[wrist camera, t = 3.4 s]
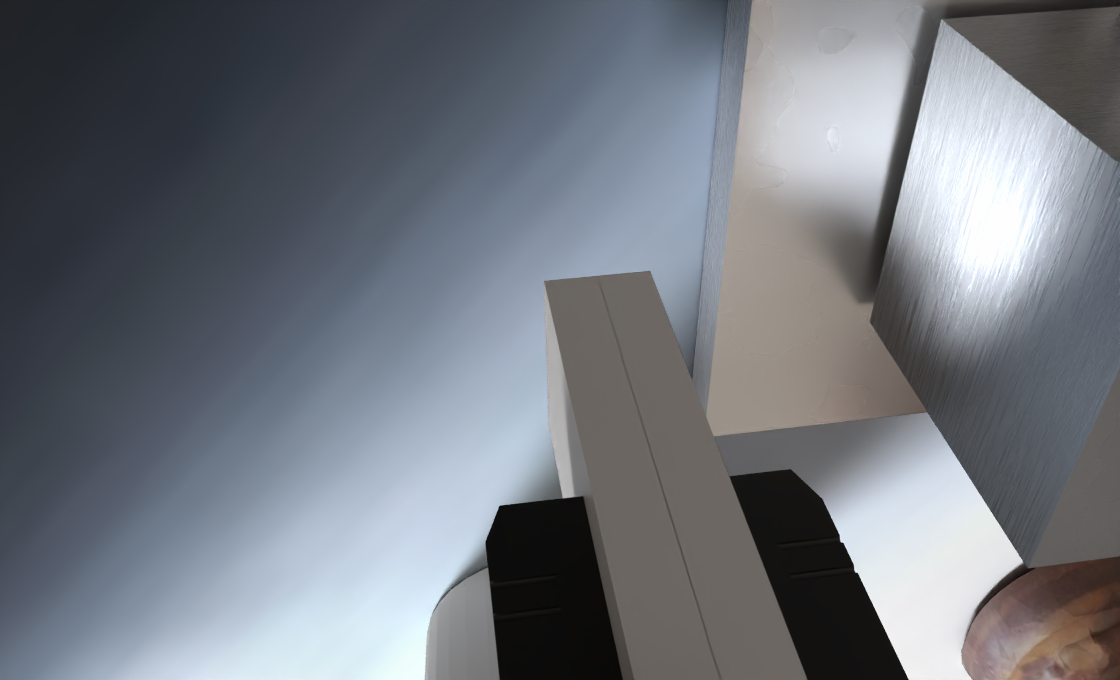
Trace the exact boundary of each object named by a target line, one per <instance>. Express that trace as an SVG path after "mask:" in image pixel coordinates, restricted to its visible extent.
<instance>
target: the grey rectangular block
mask: <svg viewBox="0 0 1120 680" xmlns="http://www.w3.org/2000/svg"><path fill="white" fill-rule="evenodd" d="M870 323H871V325H872V326H873V328H874V330H875V331H876V333H877V334H878V336H879V337H880V339H881V340H882V342H883V344H884V345H885V347H886V348H887V350H888V351H889V353H890V355H891V356H892V358H893V359H894V361H895V362H896V364H897V365H898V367H899V369H900V370H901V372H902V373H903V375H904V376H905V378H906V379H907V381H908V383H909V384H910V386H911V387H912V389H913V390H914V392H915V393H916V395H917V397H918V398H919V400H920V401H921V403H922V404H923V406H924V408H925V409H926V411H927V412H928V414H929V415H930V417H931V418H932V420H933V422H934V423H935V425H936V426H937V428H938V429H939V431H940V432H941V434H942V436H943V437H944V439H945V440H946V442H947V443H948V445H949V447H950V448H951V450H952V451H953V453H954V454H955V456H956V457H957V459H958V461H959V462H960V464H961V465H962V467H963V468H964V470H965V471H966V473H967V475H968V476H969V478H970V479H971V481H972V482H973V484H974V485H975V487H976V489H977V490H978V492H979V493H980V495H981V496H982V498H983V500H984V501H985V503H986V504H987V506H988V507H989V509H990V510H991V512H992V514H993V515H994V517H995V518H996V520H997V521H998V523H999V524H1000V526H1001V528H1002V529H1003V531H1004V532H1005V534H1006V535H1007V537H1008V538H1009V540H1010V542H1011V543H1012V545H1013V546H1014V548H1015V549H1016V551H1017V553H1018V554H1019V556H1020V557H1021V559H1022V560H1023V562H1024V563H1025V565H1026V567H1027V568H1034V567H1042V566H1050V565H1057V564H1065V563H1072V562H1080V561H1087V560H1095V559H1103V558H1110V557H1118V556H1120V7H1106V8H1092V9H1078V10H1063V11H1049V12H1035V13H1021V14H1007V15H992V16H978V17H964V18H950V19H941V22H940V27H939V31H938V35H937V39H936V43H935V48H934V52H933V56H932V60H931V65H930V69H929V73H928V77H927V81H926V86H925V90H924V94H923V98H922V103H921V107H920V111H919V115H918V119H917V124H916V128H915V132H914V136H913V141H912V145H911V149H910V153H909V157H908V162H907V166H906V170H905V174H904V178H903V183H902V187H901V191H900V195H899V200H898V204H897V208H896V212H895V216H894V221H893V225H892V229H891V233H890V238H889V242H888V246H887V250H886V254H885V259H884V263H883V267H882V271H881V276H880V280H879V284H878V288H877V292H876V297H875V301H874V305H873V309H872V314H871V318H870Z"/></svg>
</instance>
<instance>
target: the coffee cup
mask: <svg viewBox="0 0 1120 680" xmlns="http://www.w3.org/2000/svg"><path fill="white" fill-rule="evenodd" d="M425 680H499V672H498V662H497V652H496V642H495V633H494V623H493V613H492V603H491V593H490V583H489V573H488V568H485V569H483V570H481V571H479V572H477V573H475V574H473V575H472V576H470V577H468V578H466V579H465V580H463V581H462V582H461V583H459V584H458V585H457V586H455V587H454V588H453V589H451V590H450V591H449V592H448V594H447V595H446V596H445V597H444V598H443V599H442V600H441V601H440V602H439V604H438V606H437V607H436V609H435V611H434V613H433V614H432V616H431V619H430V623H429V627H428V633H427V646H426V666H425Z"/></svg>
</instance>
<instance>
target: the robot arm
mask: <svg viewBox="0 0 1120 680" xmlns="http://www.w3.org/2000/svg"><path fill="white" fill-rule="evenodd" d="M544 297H545V327H546V357H547V387H548V417H549V429H550V434H551V439H552V444H553V450H554V455H555V460H556V465H557V470H558V475H559V481H560V486H561V491H562V496H563V498H562V499H553V500H545V501H536V502H528V503H519V504H511V505H502V506H499V509H498V511H497V514H496V516H495V519H494V522H493V524H492V527H491V529H490V532H489V534H488V537H487V540H486V552H487V563H488V573H489V583H490V593H491V603H492V613H493V623H494V633H495V642H496V652H497V662H498V672H499V680H908V678H907V675H906V673H905V671H904V669H903V667H902V665H901V663H900V661H899V659H898V657H897V655H896V652H895V650H894V648H893V646H892V644H891V642H890V640H889V638H888V636H887V634H886V631H885V629H884V627H883V625H882V623H881V621H880V619H879V617H878V615H877V613H876V611H875V608H874V606H873V604H872V602H871V600H870V598H869V596H868V594H867V592H866V590H865V587H864V585H863V583H862V581H861V579H860V577H859V575H858V573H855V571H854V564H853V562H852V560H851V558H850V556H849V554H848V552H847V550H846V548H845V546H844V543H841V542H840V535H839V533H838V531H837V529H836V527H835V525H834V523H833V520H832V518H831V516H830V514H829V512H828V510H827V508H826V506H825V504H824V502H823V499H822V498H821V497H820V496H819V495H817V494H816V493H815V492H814V491H813V490H812V489H811V488H810V487H809V486H808V485H807V484H806V483H805V482H804V481H803V480H801V479H800V478H799V477H798V476H797V475H796V474H795V473H794V472H793V471H792V470H791V469H788V470H780V471H771V472H763V473H754V474H746V475H737V476H729V475H728V472H727V470H726V467H725V464H724V462H723V459H722V457H721V454H720V451H719V449H718V446H717V444H716V441H715V438H714V436H713V433H712V431H711V428H710V425H709V423H708V420H707V418H706V415H705V412H704V410H703V407H702V405H701V402H700V399H699V397H698V394H697V392H696V389H695V386H694V384H693V381H692V379H691V376H690V373H689V371H688V368H687V366H686V363H685V360H684V358H683V355H682V353H681V350H680V347H679V345H678V342H677V340H676V337H675V334H674V332H673V329H672V327H671V324H670V321H669V319H668V316H667V314H666V311H665V308H664V306H663V303H662V301H661V298H660V295H659V293H658V290H657V288H656V285H655V282H654V280H653V277H652V275H651V272H650V271H645V272H634V273H624V274H613V275H602V276H592V277H581V278H571V279H560V280H550V281H544Z"/></svg>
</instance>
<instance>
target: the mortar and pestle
mask: <svg viewBox="0 0 1120 680" xmlns="http://www.w3.org/2000/svg"><path fill="white" fill-rule="evenodd" d="M961 652H962V665H963V666H964V668H965V670H966V671H967V673H968V674H969V676H970V677H971V678H972V679H973V680H1120V556H1118V557H1110V558H1103V559H1095V560H1087V561H1080V562H1072V563H1065V564H1057V565H1050V566H1042V567H1037V568H1035V569H1034V570H1032V571H1030V572H1028V573H1026V574H1024V575H1022V576H1021V577H1019V578H1018V579H1016V580H1015V581H1013V582H1012V583H1010V584H1009V585H1008V586H1006V587H1005V588H1003V589H1002V590H1001V591H1000V592H998V593H997V594H996V595H995V596H994V597H993V598H992V599H991V600H990V601H989V602H988V603H987V604H986V605H985V606H984V607H983V608H982V610H981V611H980V612H979V614H978V615H977V616H976V618H975V619H974V621H973V623H972V624H971V627H970V630H969V632H968V635H967V637H966V640H965V643H964V645H963V648H962V650H961Z"/></svg>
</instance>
